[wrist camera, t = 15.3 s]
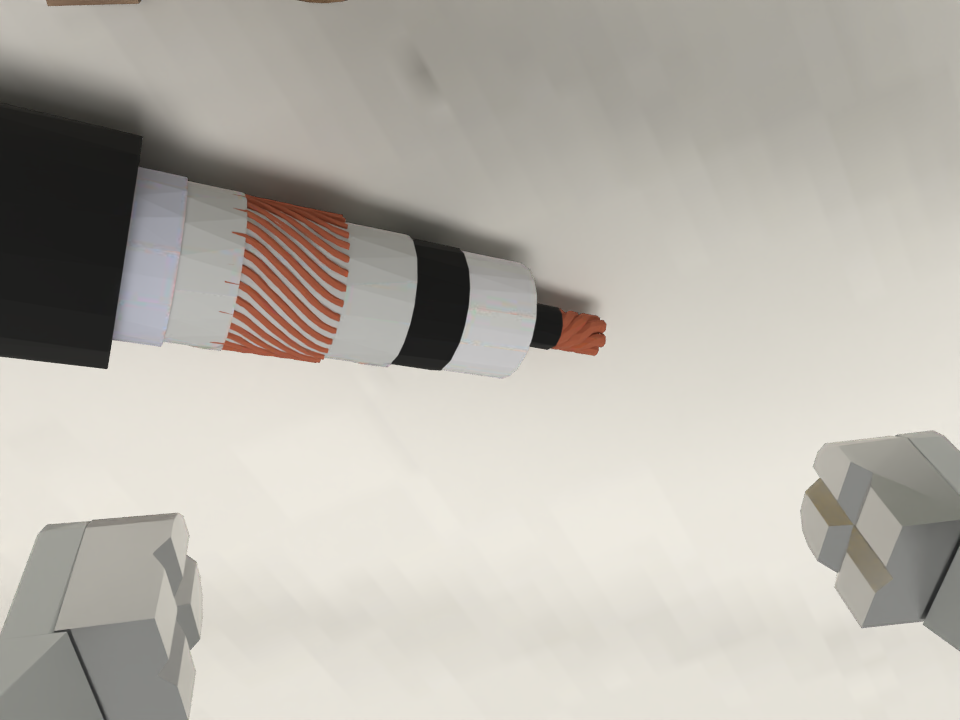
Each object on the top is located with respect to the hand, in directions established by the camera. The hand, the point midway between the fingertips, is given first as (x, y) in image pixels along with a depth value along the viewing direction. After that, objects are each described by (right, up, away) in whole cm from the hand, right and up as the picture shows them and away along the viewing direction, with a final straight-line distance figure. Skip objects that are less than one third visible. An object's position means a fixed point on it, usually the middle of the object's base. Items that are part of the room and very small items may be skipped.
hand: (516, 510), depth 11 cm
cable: (-10, +8, +31) cm, 34 cm away
